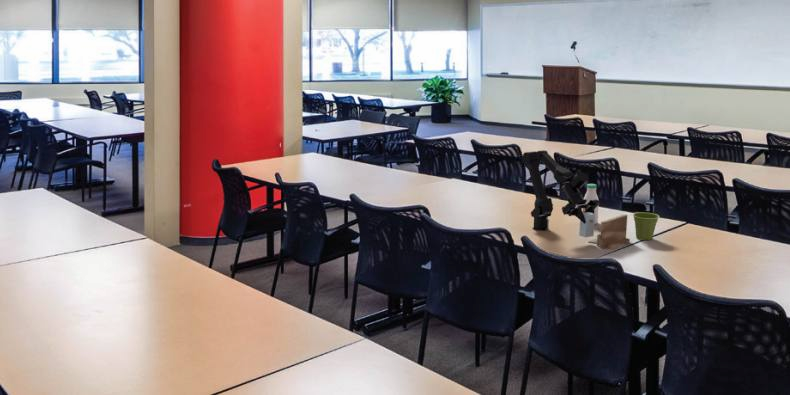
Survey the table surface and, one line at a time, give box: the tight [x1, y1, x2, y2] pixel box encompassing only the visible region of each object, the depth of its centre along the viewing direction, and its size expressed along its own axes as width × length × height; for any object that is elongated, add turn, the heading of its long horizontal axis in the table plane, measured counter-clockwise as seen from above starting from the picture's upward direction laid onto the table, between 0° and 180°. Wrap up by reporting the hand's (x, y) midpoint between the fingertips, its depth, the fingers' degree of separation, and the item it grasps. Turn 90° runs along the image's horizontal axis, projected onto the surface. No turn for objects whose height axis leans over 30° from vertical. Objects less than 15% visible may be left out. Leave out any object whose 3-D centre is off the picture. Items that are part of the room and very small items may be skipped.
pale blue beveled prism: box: [578, 212, 595, 239], centre depth 330 cm, size 5×5×10 cm
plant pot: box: [632, 211, 660, 241], centre depth 339 cm, size 12×12×11 cm
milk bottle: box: [582, 183, 600, 225], centre depth 368 cm, size 8×8×20 cm
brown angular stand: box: [588, 214, 631, 250], centre depth 332 cm, size 14×20×12 cm
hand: (589, 222), depth 329 cm, fingers closed on pale blue beveled prism, 5 cm apart
